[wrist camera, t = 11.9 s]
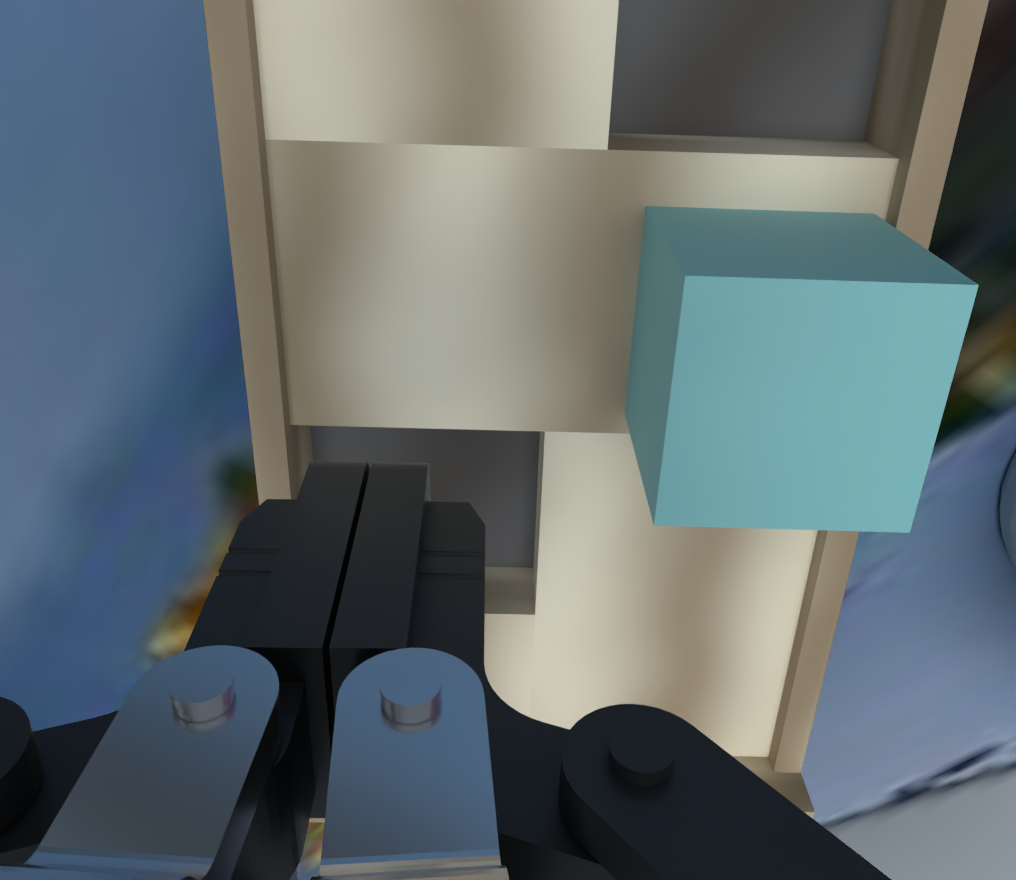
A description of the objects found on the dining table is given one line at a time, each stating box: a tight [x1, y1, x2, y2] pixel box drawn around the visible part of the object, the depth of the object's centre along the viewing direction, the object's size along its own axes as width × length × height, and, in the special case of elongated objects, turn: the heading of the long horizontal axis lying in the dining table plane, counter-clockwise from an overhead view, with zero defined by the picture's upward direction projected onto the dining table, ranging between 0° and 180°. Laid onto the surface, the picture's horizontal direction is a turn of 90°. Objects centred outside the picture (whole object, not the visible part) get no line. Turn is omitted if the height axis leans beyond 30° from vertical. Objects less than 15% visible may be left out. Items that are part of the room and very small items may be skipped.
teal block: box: [625, 206, 979, 533], centre depth 19 cm, size 5×5×5 cm
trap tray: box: [203, 0, 989, 822], centre depth 22 cm, size 15×25×4 cm, turn 178°
